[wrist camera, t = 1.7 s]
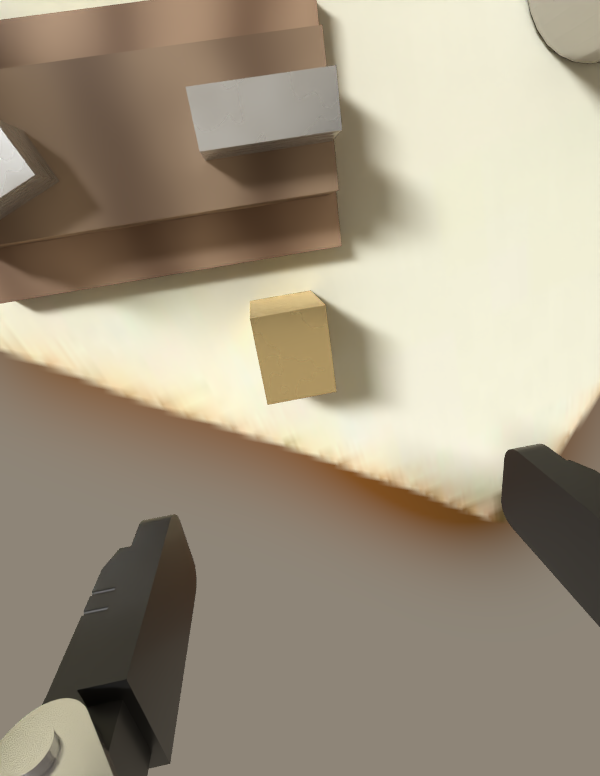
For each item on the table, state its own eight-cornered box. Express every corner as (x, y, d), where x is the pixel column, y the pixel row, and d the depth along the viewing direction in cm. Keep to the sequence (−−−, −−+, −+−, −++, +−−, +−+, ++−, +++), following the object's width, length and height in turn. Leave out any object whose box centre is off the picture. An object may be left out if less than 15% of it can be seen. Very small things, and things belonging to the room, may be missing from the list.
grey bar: (326, 84, 17) (336, 65, 15) (336, 187, 19) (346, 182, 17) (-114, 148, 16) (-164, 136, 14) (-62, 251, 18) (-102, 254, 16)
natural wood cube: (250, 301, 25) (249, 318, 20) (310, 290, 25) (325, 304, 20) (264, 372, 27) (267, 404, 22) (320, 361, 27) (336, 391, 22)
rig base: (309, -4, 20) (325, -67, 15) (336, 245, 24) (354, 248, 20) (-98, 50, 19) (-198, -1, 14) (11, 299, 23) (-40, 314, 19)
